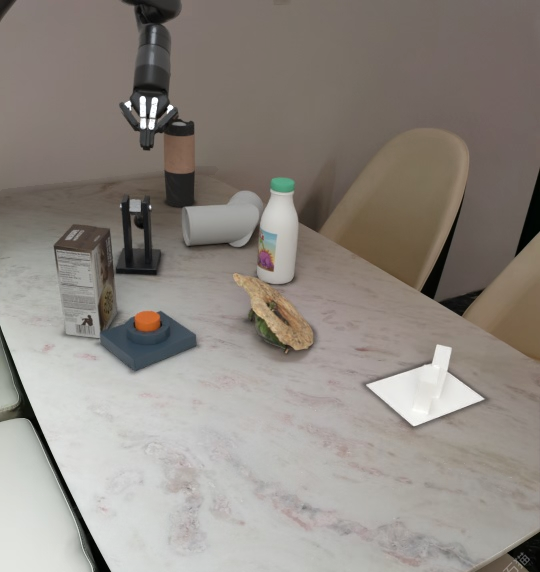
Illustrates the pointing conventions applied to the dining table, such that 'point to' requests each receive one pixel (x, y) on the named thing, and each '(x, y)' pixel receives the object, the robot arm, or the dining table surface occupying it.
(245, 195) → the elbow connector
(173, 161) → the travel mug
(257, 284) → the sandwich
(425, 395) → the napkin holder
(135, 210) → the lever
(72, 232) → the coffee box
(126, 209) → the bracket
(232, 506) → the dining table surface
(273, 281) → the milk bottle
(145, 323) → the button
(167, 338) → the button box
